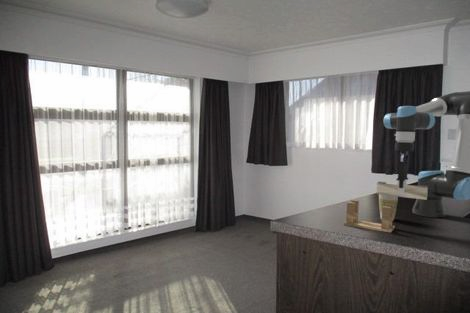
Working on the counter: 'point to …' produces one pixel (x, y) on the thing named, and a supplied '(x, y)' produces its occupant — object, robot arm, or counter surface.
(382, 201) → the coffee cup
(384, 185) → the rail
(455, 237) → the counter surface
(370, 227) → the wooden stand
